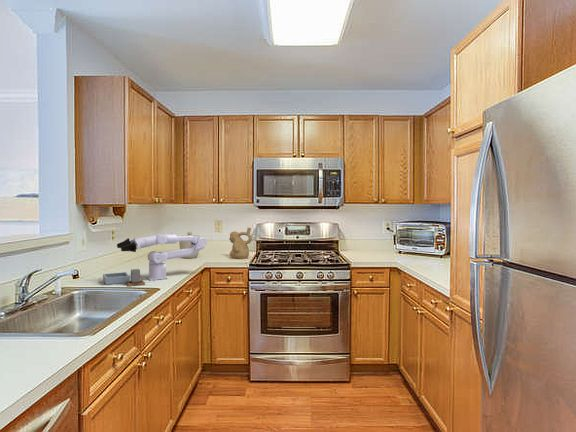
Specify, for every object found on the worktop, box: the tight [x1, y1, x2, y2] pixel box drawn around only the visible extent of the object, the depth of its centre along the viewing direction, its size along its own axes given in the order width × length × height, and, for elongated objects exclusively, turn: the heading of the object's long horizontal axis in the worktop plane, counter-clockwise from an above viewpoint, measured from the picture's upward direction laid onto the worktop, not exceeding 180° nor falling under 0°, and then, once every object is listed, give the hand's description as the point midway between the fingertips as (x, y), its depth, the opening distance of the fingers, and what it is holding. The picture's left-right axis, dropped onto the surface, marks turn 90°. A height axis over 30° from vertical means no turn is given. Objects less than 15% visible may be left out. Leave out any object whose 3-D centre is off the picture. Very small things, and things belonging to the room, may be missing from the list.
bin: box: [102, 271, 131, 286], centre depth 211 cm, size 12×12×4 cm
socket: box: [125, 279, 146, 287], centre depth 206 cm, size 8×8×1 cm
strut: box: [130, 268, 141, 284], centre depth 206 cm, size 4×4×8 cm
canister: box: [178, 231, 201, 259], centre depth 305 cm, size 18×18×21 cm
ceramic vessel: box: [229, 227, 253, 260], centre depth 307 cm, size 17×20×25 cm
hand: (119, 247), depth 208 cm, fingers open, 7 cm apart
